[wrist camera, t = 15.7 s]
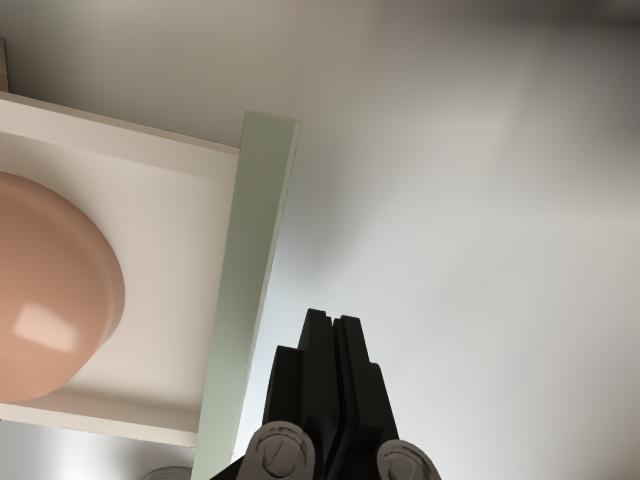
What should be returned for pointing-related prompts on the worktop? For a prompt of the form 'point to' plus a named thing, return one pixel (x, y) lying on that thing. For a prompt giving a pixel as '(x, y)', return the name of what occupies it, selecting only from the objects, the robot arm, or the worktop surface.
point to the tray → (162, 267)
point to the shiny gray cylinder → (170, 474)
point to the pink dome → (51, 289)
